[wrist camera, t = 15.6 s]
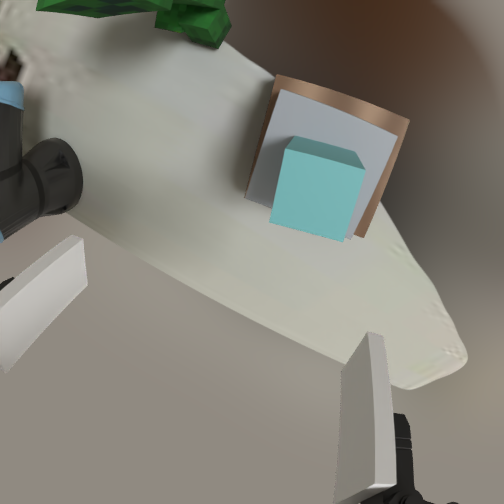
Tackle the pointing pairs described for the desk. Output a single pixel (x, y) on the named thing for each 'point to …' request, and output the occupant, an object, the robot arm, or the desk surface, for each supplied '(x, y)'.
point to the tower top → (323, 130)
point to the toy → (168, 16)
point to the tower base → (353, 107)
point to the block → (317, 188)
